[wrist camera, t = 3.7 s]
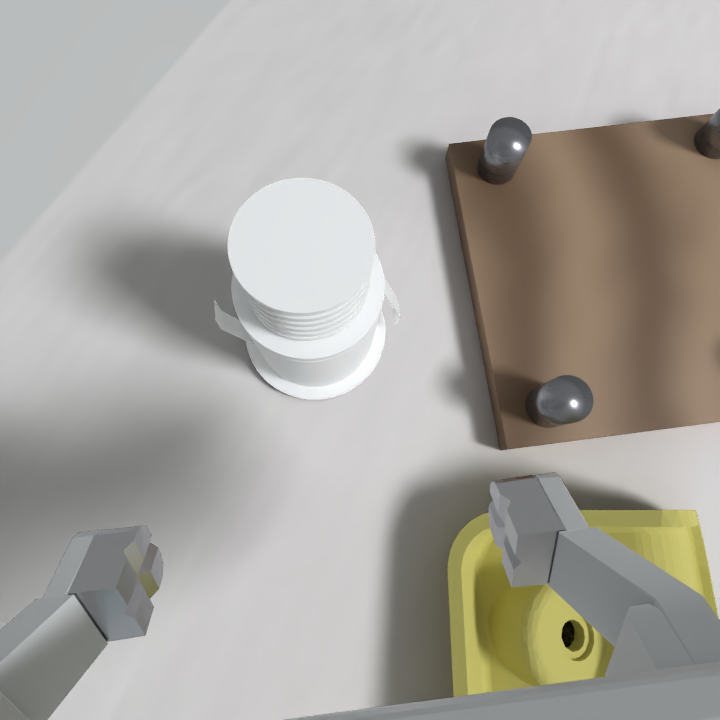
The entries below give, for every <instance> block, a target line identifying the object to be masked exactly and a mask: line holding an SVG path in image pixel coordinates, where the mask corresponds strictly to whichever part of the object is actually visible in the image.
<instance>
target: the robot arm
mask: <svg viewBox="0 0 720 720" xmlns="http://www.w3.org/2000/svg"><path fill="white" fill-rule="evenodd" d="M490 494H491V497H492V500H493V501H492V502H491V503H490V504H489V513H488V516H489V523H490V529H491V533H492V536H493V539H494V542H495V545H496V546H498V547H499V548H500V549H501V550H503V554H502V564H503V566H504V569H505V571H506V574H507V577H508V579H509V582H510V585H511V587H512V588H514V587H524V586H534V585H543V584H549V587H550V588H552V589H553V590H554V591H555V592H556V593H557V594H558V595H559V596H560V597H561V598H562V599H563V600H564V601H566V602H567V603H568V604H569V605H570V606H571V607H572V608H573V609H574V610H575V611H576V612H577V613H578V614H579V615H581V616H582V617H583V618H584V619H585V620H586V621H587V622H588V623H589V624H590V625H591V626H592V627H593V628H595V629H596V630H597V631H598V632H599V633H600V634H601V635H602V636H603V637H604V638H605V639H606V640H607V641H609V642H610V643H611V644H612V645H613V646H614V647H615V648H614V651H613V653H612V656H611V659H610V662H609V665H608V668H607V670H606V673H605V677H598V678H591V679H584V680H576V681H569V682H561V683H554V684H546V685H539V686H532V687H524V688H517V689H509V690H502V691H495V692H487V693H479V694H472V695H464V696H457V697H449V698H442V699H434V700H427V701H419V702H412V703H404V704H397V705H389V706H382V707H374V708H367V709H359V710H352V711H344V712H337V713H329V714H322V715H315V716H307V717H300V718H292V719H285V720H720V620H719V618H718V617H717V615H716V614H715V613H714V611H713V610H712V608H711V607H710V606H709V604H708V603H707V601H706V600H705V599H704V597H703V596H702V595H701V594H699V593H698V592H696V591H695V590H693V589H691V588H690V587H688V586H687V585H685V584H684V583H682V582H681V581H679V580H678V579H676V578H674V577H673V576H671V575H670V574H668V573H667V572H665V571H664V570H662V569H660V568H659V567H657V566H656V565H654V564H653V563H651V562H650V561H648V560H646V559H645V558H643V557H642V556H640V555H639V554H637V553H636V552H634V551H632V550H631V549H629V548H628V547H626V546H625V545H623V544H622V543H620V542H618V541H617V540H615V539H614V538H612V537H611V536H609V535H608V534H606V533H605V532H603V531H601V530H600V529H598V528H597V527H592V528H590V527H589V526H588V524H587V522H586V521H585V519H584V517H583V516H582V514H581V512H580V511H579V509H578V507H577V505H576V504H575V502H574V500H573V499H572V497H571V495H570V494H569V492H568V490H567V488H566V487H565V485H564V483H563V482H562V480H561V478H560V477H559V475H558V474H556V473H555V472H554V473H547V474H539V475H534V476H532V475H530V476H522V477H515V478H508V479H501V480H494V481H492V482H491V484H490ZM151 536H152V534H151V533H150V531H149V529H148V527H147V526H135V527H125V528H115V529H105V530H98V531H89V532H80V533H78V534H77V535H76V536H74V537H73V539H72V540H71V542H70V544H69V546H68V548H67V550H66V552H65V554H64V556H63V558H62V560H61V562H60V564H59V566H58V568H57V570H56V572H55V574H54V576H53V578H52V580H51V582H50V584H49V586H48V588H47V590H46V592H45V594H44V596H43V598H41V599H35V600H34V601H33V602H32V603H31V604H30V605H28V606H27V607H26V608H25V609H24V610H23V611H22V612H20V613H19V614H18V615H17V616H16V617H15V618H14V619H13V620H11V621H10V622H9V623H8V624H7V625H6V626H5V627H3V628H2V629H1V630H0V720H47V719H48V718H49V717H50V716H51V714H52V713H53V712H54V711H55V709H56V708H57V707H58V706H59V704H60V703H61V702H62V701H63V699H64V698H65V697H66V696H67V694H68V693H69V692H70V691H71V689H72V688H73V687H74V686H75V684H76V683H77V682H78V681H79V679H80V678H81V677H82V676H83V674H84V673H85V672H86V671H87V669H88V668H89V667H90V666H91V664H92V663H93V662H94V660H95V659H96V658H97V657H98V655H99V654H100V653H101V652H102V650H103V649H104V648H105V647H106V645H107V644H108V643H107V642H108V641H115V640H121V639H127V638H134V637H140V636H145V635H146V632H147V629H148V625H149V622H150V618H151V615H152V612H153V608H154V606H153V604H152V602H151V600H150V598H151V597H152V596H153V595H154V594H155V592H156V591H157V590H158V589H159V588H160V584H161V580H162V575H163V561H162V556H161V553H160V551H159V548H158V547H156V546H155V545H153V544H151V543H149V542H150V539H151Z"/></svg>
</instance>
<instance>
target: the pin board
mask: <svg viewBox="0 0 720 720" xmlns="http://www.w3.org/2000/svg"><path fill="white" fill-rule="evenodd" d="M446 163H447V169H448V174H449V179H450V185H451V190H452V195H453V201H454V206H455V211H456V217H457V222H458V227H459V233H460V238H461V243H462V249H463V254H464V259H465V265H466V270H467V275H468V281H469V286H470V291H471V297H472V302H473V307H474V313H475V318H476V323H477V329H478V334H479V339H480V345H481V350H482V355H483V361H484V366H485V371H486V377H487V382H488V387H489V393H490V398H491V403H492V409H493V414H494V419H495V425H496V430H497V435H498V441H499V446H500V450H506V449H514V448H522V447H529V446H537V445H545V444H552V443H560V442H568V441H575V440H583V439H591V438H599V437H606V436H614V435H622V434H629V433H637V432H645V431H652V430H660V429H668V428H675V427H683V426H691V425H698V424H706V423H714V422H720V109H719V110H718V111H717V112H716V113H715V114H708V115H699V116H690V117H681V118H673V119H664V120H655V121H646V122H637V123H629V124H620V125H611V126H602V127H594V128H585V129H576V130H567V131H559V132H550V133H541V134H531V130H530V128H529V127H528V126H527V124H526V123H524V122H523V121H521V120H520V119H517V118H513V117H506V118H502V119H499V120H498V121H496V122H495V123H494V124H493V125H492V127H491V129H490V131H489V134H488V137H487V139H486V140H480V141H471V142H462V143H453V144H449V147H448V151H447V154H446Z"/></svg>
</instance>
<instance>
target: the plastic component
mask: <svg viewBox="0 0 720 720" xmlns="http://www.w3.org/2000/svg"><path fill="white" fill-rule="evenodd" d="M579 511H580V512H581V514H582V516H583V517H584V519H585V521H586V522H587V524H588V526H589V527H590V528H592V527H597V528H598V529H600V530H601V531H603V532H605V533H606V534H608V535H609V536H611V537H612V538H614V539H615V540H617V541H618V542H620V543H622V544H623V545H625V546H626V547H628V548H629V549H631V550H632V551H634V552H636V553H637V554H639V555H640V556H642V557H643V558H645V559H646V560H648V561H650V562H651V563H653V564H654V565H656V566H657V567H659V568H660V569H662V570H664V571H665V572H667V573H668V574H670V575H671V576H673V577H674V578H676V579H678V580H679V581H681V582H682V583H684V584H685V585H687V586H688V587H690V588H691V589H693V590H695V591H696V592H698V593H699V594H701V595H702V596H703V597H704V599H705V600H706V601H707V603H708V604H709V606H710V607H711V608H712V610H713V611H714V613H715V614H716V615H717V617H718V613H717V608H716V603H715V597H714V592H713V587H712V582H711V577H710V571H709V566H708V561H707V556H706V551H705V546H704V541H703V537H702V532H701V528H700V523H699V519H698V515H697V512H696V510H579ZM488 513H489V512H488ZM488 513H484V514H482V515H480V516H478V517H476V518H474V519H473V520H471V521H470V522H469V523H468V524H467V525H466V526H465V527H464V528H463V529H462V530H460V532H459V534H458V535H457V537H456V539H455V540H454V542H453V545H452V547H451V550H450V553H449V560H448V566H447V571H448V592H449V613H450V635H451V656H452V677H453V697H457V696H464V695H472V694H479V693H487V692H495V691H502V690H509V689H517V688H524V687H532V686H539V685H546V684H554V683H561V682H569V681H576V680H584V679H591V678H598V677H605V673H606V670H607V668H608V665H609V662H610V659H611V656H612V653H613V651H614V648H615V647H614V646H613V645H612V644H611V643H610V642H609V641H607V640H606V639H605V638H604V637H603V636H602V635H601V634H600V633H599V632H598V631H597V630H596V629H595V628H593V627H592V626H591V625H590V624H589V623H588V622H587V621H586V620H585V619H584V618H583V617H582V616H581V615H579V614H578V613H577V612H576V611H575V610H574V609H573V608H572V607H571V606H570V605H569V604H568V603H567V602H566V601H564V600H563V599H562V598H561V597H560V596H559V595H558V594H557V593H556V592H555V591H554V590H553V589H552V588H550V587H549V584H543V585H534V586H524V587H514V588H512V587H511V585H510V582H509V579H508V577H507V574H506V571H505V569H504V566H503V564H502V554H503V550H501V549H500V548H499V547H498V546H496V545H495V542H494V539H493V536H492V533H491V529H490V523H489V516H488ZM567 621H570V622H571V623H572V625H573V627H574V630H575V634H574V641H573V642H572V644H571V645H570V647H565V645H564V643H563V640H562V638H561V635H562V628H563V626H564V624H565V623H566V622H567Z"/></svg>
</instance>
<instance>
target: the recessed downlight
mask: <svg viewBox="0 0 720 720" xmlns="http://www.w3.org/2000/svg"><path fill="white" fill-rule="evenodd" d="M228 257H229V261H230V265H231V267H232V270H233V274H232V281H231V294H232V301H233V305H234V308H235V311H236V314H237V316H238V318H239V320H238V319H236V318H234V317H233V316H231V315H229V314H227V313H225V312H223V311H221V309H220V308H219V306H218V304H217V302H216V301H215V300H214V310H215V321H216V322H217V324H218V325H219V327H220V328H221V330H223V331H226V332H228V333H230V334H232V335H234V336H236V337H239V338H241V339H243V340H245V341H246V346H247V350H248V353H249V356H250V359H251V361H252V363H253V365H254V366H255V368H256V370H257V371H258V372H259V374H260V375H261V376H262V377H263V378H264V379H265V380H266V381H267V382H268V383H269V384H270V385H272V386H273V387H274V388H276V389H277V390H279V391H281V392H283V393H285V394H287V395H290V396H293V397H296V398H300V399H306V400H324V399H330V398H334V397H337V396H340V395H343V394H345V393H347V392H349V391H351V390H352V389H354V388H356V387H357V386H358V385H360V384H361V383H362V382H363V381H364V380H365V379H366V378H367V377H368V376H369V375H370V374H371V372H372V371H373V370H374V368H375V367H376V365H377V363H378V361H379V359H380V357H381V354H382V351H383V347H384V343H385V321H384V316H383V313H382V310H381V308H382V304H383V300H384V295H385V296H386V298H387V299H388V301H389V302H390V304H391V305H392V307H393V314H394V321H395V326H396V325H397V323H398V321H399V319H400V310H399V303H398V299H397V297H396V295H395V294H394V292H393V291H392V289H391V287H390V286H389V284H388V282H387V281H386V279H385V277H384V273H383V269H382V266H381V263H380V260H379V258H378V256H377V254H376V252H375V235H374V230H373V227H372V224H371V221H370V219H369V217H368V215H367V213H366V211H365V210H364V208H363V207H362V206H361V204H360V203H359V202H358V201H357V200H356V199H355V198H354V197H353V196H352V195H350V194H349V193H348V192H346V191H345V190H343V189H342V188H340V187H338V186H336V185H334V184H332V183H329V182H326V181H323V180H319V179H313V178H291V179H285V180H281V181H277V182H274V183H272V184H269V185H267V186H265V187H263V188H262V189H260V190H259V191H257V192H256V193H254V194H253V195H252V196H251V197H249V198H248V199H247V200H246V201H245V203H244V204H243V205H242V206H241V207H240V209H239V210H238V212H237V213H236V215H235V217H234V219H233V221H232V224H231V227H230V230H229V235H228Z"/></svg>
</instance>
